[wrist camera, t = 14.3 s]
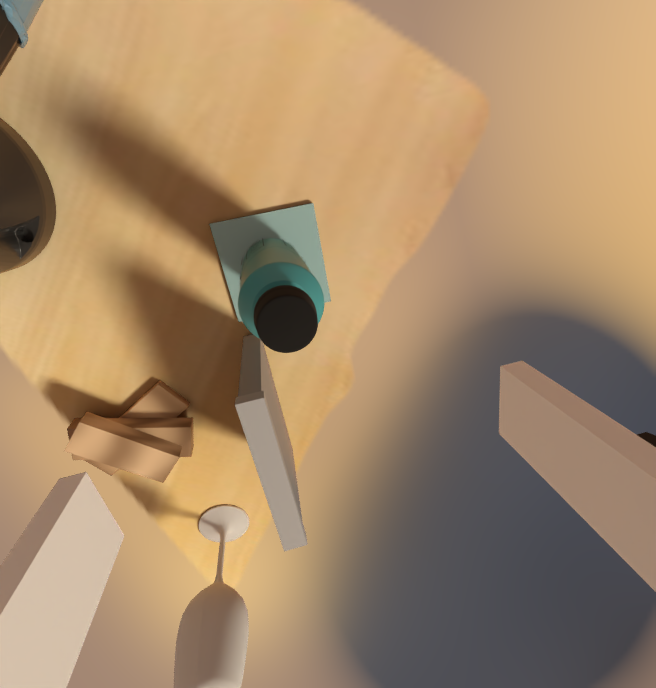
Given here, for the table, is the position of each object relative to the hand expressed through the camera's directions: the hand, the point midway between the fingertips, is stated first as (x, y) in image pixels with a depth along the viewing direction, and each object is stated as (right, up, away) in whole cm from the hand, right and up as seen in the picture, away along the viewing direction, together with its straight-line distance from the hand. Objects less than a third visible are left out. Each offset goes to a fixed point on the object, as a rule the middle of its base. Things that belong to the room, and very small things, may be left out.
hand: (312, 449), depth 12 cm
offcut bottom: (-24, -7, +35) cm, 43 cm away
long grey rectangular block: (-7, -3, +36) cm, 37 cm away
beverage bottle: (-6, +12, +29) cm, 32 cm away
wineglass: (-15, -23, +43) cm, 51 cm away
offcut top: (-23, -8, +31) cm, 40 cm away
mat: (-6, +12, +29) cm, 32 cm away
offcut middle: (-23, -8, +33) cm, 41 cm away
